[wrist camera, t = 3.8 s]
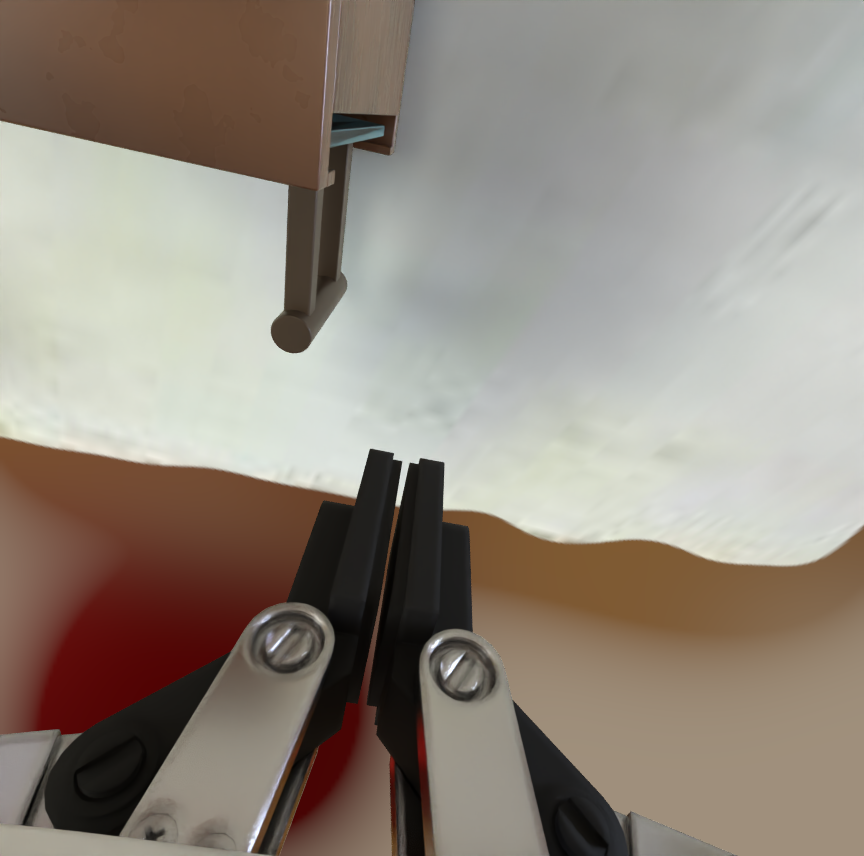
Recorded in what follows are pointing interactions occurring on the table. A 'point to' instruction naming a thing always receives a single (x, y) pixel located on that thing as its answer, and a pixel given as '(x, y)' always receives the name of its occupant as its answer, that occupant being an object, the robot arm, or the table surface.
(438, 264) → the table surface
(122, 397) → the table surface
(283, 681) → the robot arm
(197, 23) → the cabinet
